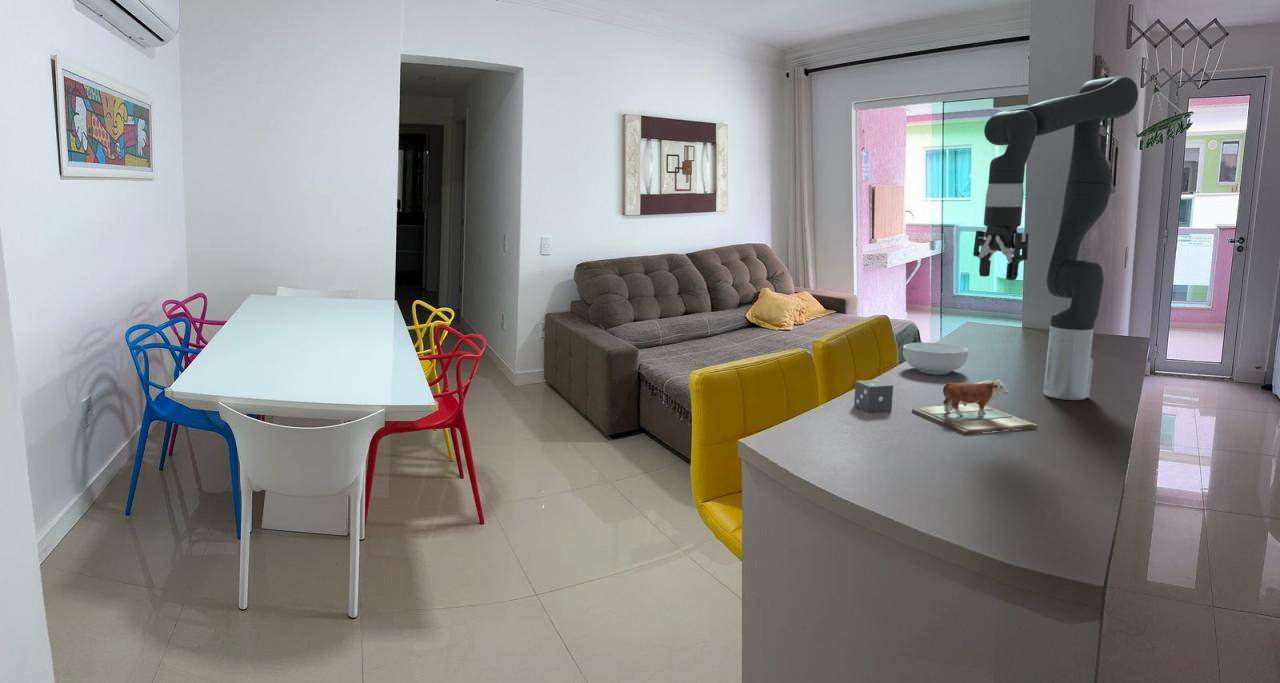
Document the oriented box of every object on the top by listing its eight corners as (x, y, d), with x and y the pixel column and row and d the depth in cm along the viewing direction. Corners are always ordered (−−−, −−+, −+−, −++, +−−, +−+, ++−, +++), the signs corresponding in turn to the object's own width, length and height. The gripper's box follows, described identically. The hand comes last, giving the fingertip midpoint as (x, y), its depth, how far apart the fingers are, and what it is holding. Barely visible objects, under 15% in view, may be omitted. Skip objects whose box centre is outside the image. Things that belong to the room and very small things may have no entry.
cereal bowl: (964, 368, 222) (966, 343, 220) (968, 380, 206) (970, 354, 205) (901, 363, 227) (903, 339, 226) (901, 375, 211) (902, 350, 210)
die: (876, 404, 182) (878, 379, 181) (891, 411, 176) (893, 385, 175) (853, 406, 180) (855, 380, 179) (868, 412, 174) (869, 386, 173)
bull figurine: (1007, 419, 166) (1011, 382, 165) (942, 416, 168) (945, 380, 167) (1001, 413, 171) (1004, 377, 169) (937, 411, 172) (940, 375, 171)
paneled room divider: (979, 406, 180) (979, 402, 180) (1037, 428, 163) (1038, 424, 163) (912, 412, 175) (912, 407, 175) (964, 435, 158) (965, 430, 158)
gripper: (1042, 205, 165) (1034, 281, 168) (995, 204, 178) (989, 274, 181) (1012, 205, 163) (1005, 281, 166) (967, 204, 177) (962, 275, 179)
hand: (997, 278), depth 174 cm, fingers open, 8 cm apart
